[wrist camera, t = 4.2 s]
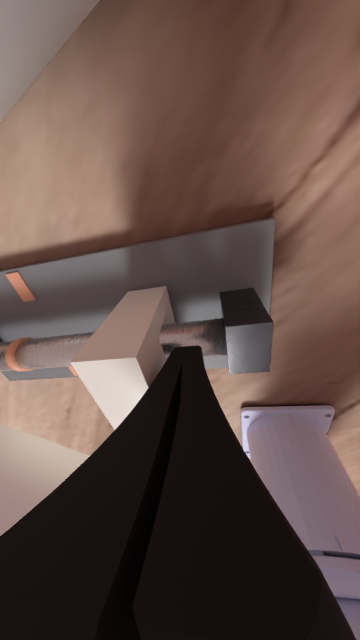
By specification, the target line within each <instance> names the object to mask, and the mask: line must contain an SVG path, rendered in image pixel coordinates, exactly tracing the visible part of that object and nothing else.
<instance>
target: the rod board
mask: <svg viewBox="0 0 360 640" xmlns="http://www.w3.org/2000/svg"><path fill="white" fill-rule="evenodd" d="M274 230H275V219H274V218H271V217H270V218H265V219H260V220H255V221H249V222H244V223H239V224H234V225H229V226H224V227H219V228H214V229H209V230H203V231H198V232H193V233H188V234H183V235H178V236H173V237H168V238H163V239H157V240H152V241H147V242H142V243H137V244H132V245H127V246H122V247H117V248H112V249H106V250H101V251H96V252H91V253H86V254H81V255H76V256H71V257H66V258H60V259H55V260H50V261H45V262H40V263H35V264H30V265H25V266H20V267H14V268H9V269H4V270H0V371H1V372H2V373H3V374H4V375H5V376H6V377H7V378H8V379H9V381H16V380H33V379H49V378H66V377H79V375H78V374H77V372H76V371H75V369H74V368H73V366H72V365H71V363H70V362H71V361H72V359H73V358H74V357H75V356H76V355H77V353H78V352H79V351H80V350H81V348H82V347H83V346H84V345H85V344H86V342H87V341H88V340H89V339H90V337H91V336H92V335H93V334H94V333H95V331H96V330H97V329H98V328H99V326H100V325H101V324H102V323H103V322H104V320H105V319H106V318H107V317H108V315H109V314H110V313H111V312H112V311H113V309H114V308H115V307H116V306H117V304H118V303H119V302H120V301H121V300H122V298H123V297H124V296H125V295H126V293H127V292H129V291H136V290H142V289H149V288H156V287H163V286H166V287H167V291H168V295H169V299H170V303H171V307H172V311H173V315H174V320H175V323H172V324H162V327H161V330H160V333H159V340H160V343H161V346H162V349H163V353H164V356H165V359H167V358H168V357H169V355H170V353H171V352H172V350H173V348H174V347H184V346H196V345H199V346H201V347H202V353H203V359H204V365H205V369H215V368H228V369H229V374H237V373H256V372H270V362H271V348H272V334H273V321H272V319H271V317H270V300H271V283H272V265H273V248H274Z"/></svg>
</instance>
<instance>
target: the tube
mask: <svg viewBox="0 0 360 640" xmlns="http://www.w3.org/2000/svg"><path fill="white" fill-rule="evenodd" d="M99 1H100V0H0V123H1V121H2V120H3V119H4V118H5V117H6V115H7V114H8V113H9V112H10V110H11V109H12V108H13V107H14V105H15V104H16V103H17V102H18V101H19V99H20V98H21V97H22V96H23V94H24V93H25V92H26V91H27V89H28V88H29V87H30V86H31V85H32V83H33V82H34V81H35V80H36V78H37V77H38V76H39V75H40V73H41V72H42V71H43V70H44V69H45V67H46V66H47V65H48V64H49V62H50V61H51V60H52V59H53V57H54V56H55V55H56V54H57V53H58V51H59V50H60V49H61V48H62V46H63V45H64V44H65V43H66V41H67V40H68V39H69V38H70V37H71V35H72V34H73V33H74V32H75V30H76V29H77V28H78V27H79V25H80V24H81V23H82V22H83V21H84V19H85V18H86V17H87V16H88V14H89V13H90V12H91V11H92V9H93V8H94V7H95V6H96V5H97V3H98V2H99Z"/></svg>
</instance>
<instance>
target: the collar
mask: <svg viewBox="0 0 360 640" xmlns="http://www.w3.org/2000/svg"><path fill="white" fill-rule="evenodd" d="M172 323H175V320H174V315H173V311H172V307H171V303H170V299H169V295H168V291H167V287H166V286H163V287H156V288H149V289H142V290H136V291H129V292H127V293H126V295H125V296H124V297H123V298H122V300H121V301H120V302H119V303H118V304H117V306H116V307H115V308H114V309H113V311H112V312H111V313H110V314H109V315H108V317H107V318H106V319H105V320H104V322H103V323H102V324H101V325H100V326H99V328H98V329H97V330H96V331H95V333H94V334H93V335H92V336H91V337H90V339H89V340H88V341H87V342H86V344H85V345H84V346H83V347H82V348H81V350H80V351H79V352H78V353H77V355H76V356H75V357H74V358H73V359H72V361H71V362H70V363H71V365H72V366H73V368H74V369H75V371H76V372H77V374H78V375H79V377H80V378H81V380H82V381H83V383H84V384H85V386H86V387H87V389H88V390H89V392H90V394H91V395H92V397H93V398H94V400H95V401H96V403H97V404H98V406H99V407H100V409H101V410H102V412H103V413H104V415H105V416H106V418H107V419H108V421H109V422H110V424H111V425H112V427H113V428H114V430H115V429H116V428H117V427H118V426H119V425H120V424H121V423H122V421H123V420H124V419H125V418H126V417H127V415H128V414H129V413H130V412H131V411H132V409H133V408H134V407H135V406H136V404H137V403H138V402H139V400H140V399H141V398H142V396H143V395H144V393H145V392H146V391H147V389H148V388H149V387H150V385H151V384H152V382H153V381H154V379H155V378H156V376H157V375H158V373H159V372H160V370H161V368H162V367H163V365H164V363H165V362H166V360H167V359H165V356H164V353H163V349H162V346H161V343H160V340H159V333H160V330H161V327H162V324H172Z"/></svg>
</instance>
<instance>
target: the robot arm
mask: <svg viewBox="0 0 360 640" xmlns="http://www.w3.org/2000/svg"><path fill="white" fill-rule="evenodd" d="M334 414H335V410H334V408H333V407H332V406H329V405H323V406H278V407H244V408H242V409H241V429H242V446H241V445H240V443H239V441H238V439H237V438H236V436H235V434H234V432H233V430H232V428H231V427H230V425H229V423H228V421H227V419H226V417H225V415H224V413H223V411H222V409H221V407H220V405H219V403H218V400H217V398H216V396H215V394H214V391H213V389H212V386H211V384H210V381H209V379H208V376H207V373H206V370H205V365H204V359H203V353H202V347H201V346H199V345H196V346H184V347H174V348H173V350H172V352H171V353H170V355H169V357H168V358H167V360H166V362H165V363H164V365H163V367H162V368H161V370H160V372H159V373H158V375H157V376H156V378H155V379H154V381H153V382H152V384H151V385H150V387H149V388H148V389H147V391H146V392H145V393H144V395H143V396H142V398H141V399H140V400H139V402H138V403H137V404H136V406H135V407H134V408H133V409H132V411H131V412H130V413H129V414H128V415H127V417H126V418H125V419H124V420H123V421H122V423H121V424H120V425H119V426H118V427H117V428H116V429H115V430H114V432H113V433H112V434H111V435H110V436H109V437H108V438H107V439H106V440H105V441H104V442H103V443H102V445H101V446H100V447H99V448H98V449H97V450H96V451H95V452H94V453H93V454H92V455H91V456H90V457H89V458H88V459H87V460H86V461H85V462H84V463H82V464H81V465H80V467H78V468H77V469H76V470H75V471H74V472H73V473H72V474H71V475H70V476H69V477H68V478H67V479H66V480H65V481H64V482H63V483H62V484H60V485H59V486H58V487H57V488H56V489H55V490H54V491H53V492H52V493H51V494H49V495H48V496H47V497H46V498H45V499H44V500H42V501H41V502H40V503H39V504H38V505H37V506H35V507H34V508H33V509H32V510H31V511H30V512H29V513H27V515H25V516H24V517H23V518H22V519H20V520H19V521H18V522H17V523H16V524H15V525H14V526H12V527H11V528H10V529H9V530H8V531H6V532H5V533H4V534H3V535H1V536H0V640H360V496H359V495H358V493H357V491H356V489H355V487H354V485H353V483H352V481H351V479H350V478H349V476H348V474H347V472H346V470H345V468H344V466H343V464H342V462H341V460H340V459H339V457H338V455H337V453H336V451H335V449H334V447H333V445H332V443H331V442H330V440H329V438H328V436H327V432H328V430H329V427H330V424H331V422H332V419H333V416H334ZM249 458H251V461H250V460H249Z"/></svg>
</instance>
